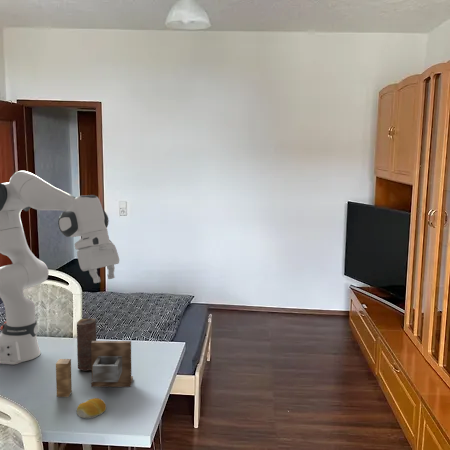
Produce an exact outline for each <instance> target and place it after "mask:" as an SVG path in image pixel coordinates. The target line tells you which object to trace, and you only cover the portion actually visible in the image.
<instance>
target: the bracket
mask: <svg viewBox="0 0 450 450" xmlns="http://www.w3.org/2000/svg"><path fill="white" fill-rule="evenodd" d="M91 358H92V370H91V388H92V387H93V388H95V387H96V388H99V387H100V388H101V387H104V388H105V387H106V388H109V387H111V388H122V387H123V388H131V386H132V383H133V380H134V376H133V375H132V340H96V341H92V342H91Z"/></svg>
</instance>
